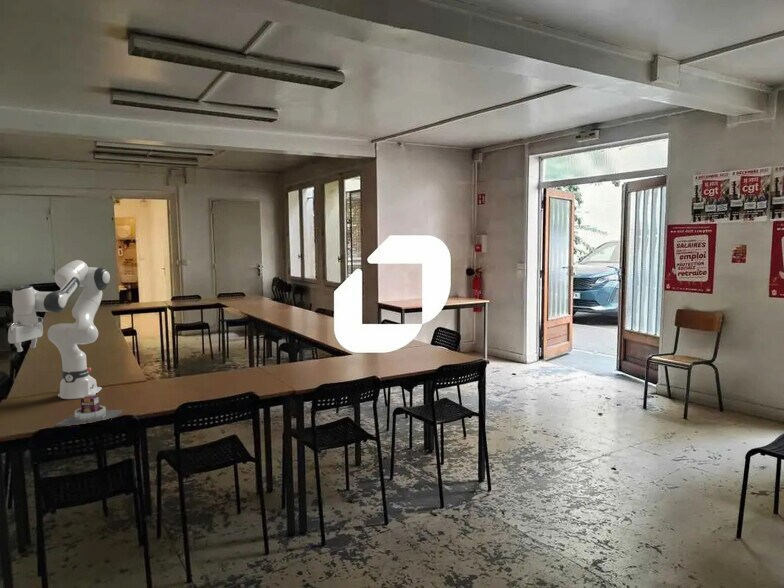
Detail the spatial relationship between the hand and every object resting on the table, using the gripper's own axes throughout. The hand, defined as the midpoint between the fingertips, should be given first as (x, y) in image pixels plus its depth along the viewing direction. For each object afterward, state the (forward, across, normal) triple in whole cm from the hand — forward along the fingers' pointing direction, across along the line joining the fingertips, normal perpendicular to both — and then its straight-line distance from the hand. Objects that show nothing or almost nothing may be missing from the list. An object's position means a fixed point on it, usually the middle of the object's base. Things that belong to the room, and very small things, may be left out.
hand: (26, 349), depth 250 cm
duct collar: (+31, -8, -32) cm, 45 cm away
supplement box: (+30, -8, -32) cm, 45 cm away
